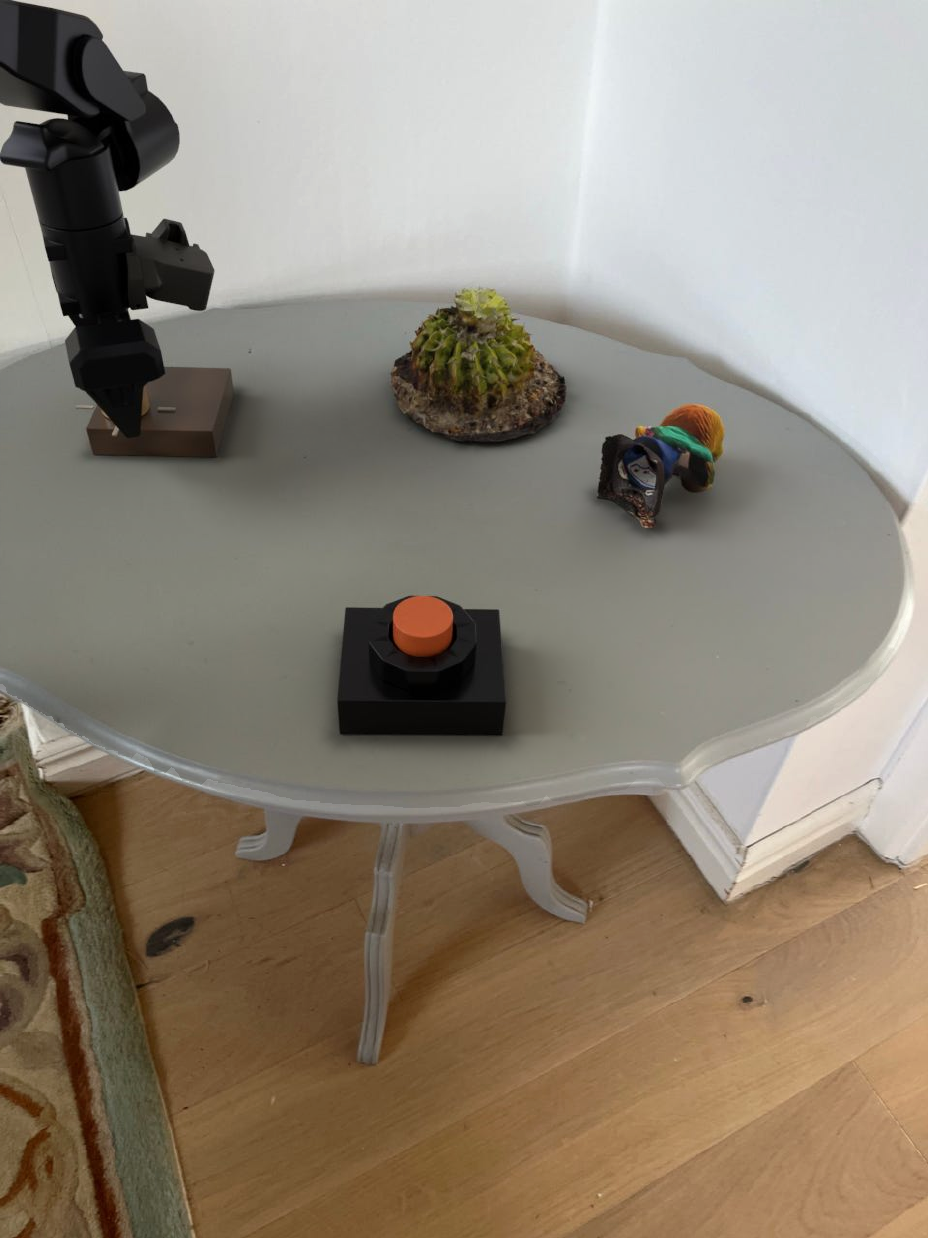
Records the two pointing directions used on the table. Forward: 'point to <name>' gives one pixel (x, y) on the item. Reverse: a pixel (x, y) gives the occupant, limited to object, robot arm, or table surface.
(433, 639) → the button
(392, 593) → the table surface
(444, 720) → the button box
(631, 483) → the figurine
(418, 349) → the cactus
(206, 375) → the panel
